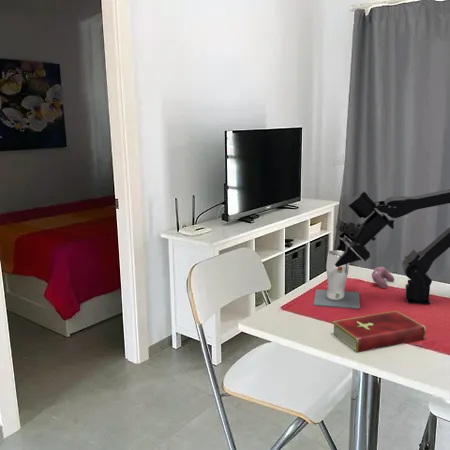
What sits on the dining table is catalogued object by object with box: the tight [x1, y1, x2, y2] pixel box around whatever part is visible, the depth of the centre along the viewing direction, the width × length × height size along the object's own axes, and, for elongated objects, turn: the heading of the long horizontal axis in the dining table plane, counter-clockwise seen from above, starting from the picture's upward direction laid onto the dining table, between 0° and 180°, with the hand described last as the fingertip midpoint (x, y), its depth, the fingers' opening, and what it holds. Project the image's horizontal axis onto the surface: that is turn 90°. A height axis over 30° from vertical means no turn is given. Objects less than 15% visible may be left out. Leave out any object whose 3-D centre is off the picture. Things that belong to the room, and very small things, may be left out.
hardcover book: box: [331, 310, 427, 353], centre depth 130 cm, size 12×21×4 cm, turn 109°
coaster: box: [313, 289, 361, 310], centre depth 157 cm, size 14×14×1 cm
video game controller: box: [371, 266, 395, 289], centre depth 170 cm, size 10×5×7 cm, turn 146°
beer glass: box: [326, 249, 350, 301], centre depth 155 cm, size 7×7×15 cm
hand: (333, 262), depth 154 cm, fingers closed on beer glass, 6 cm apart
